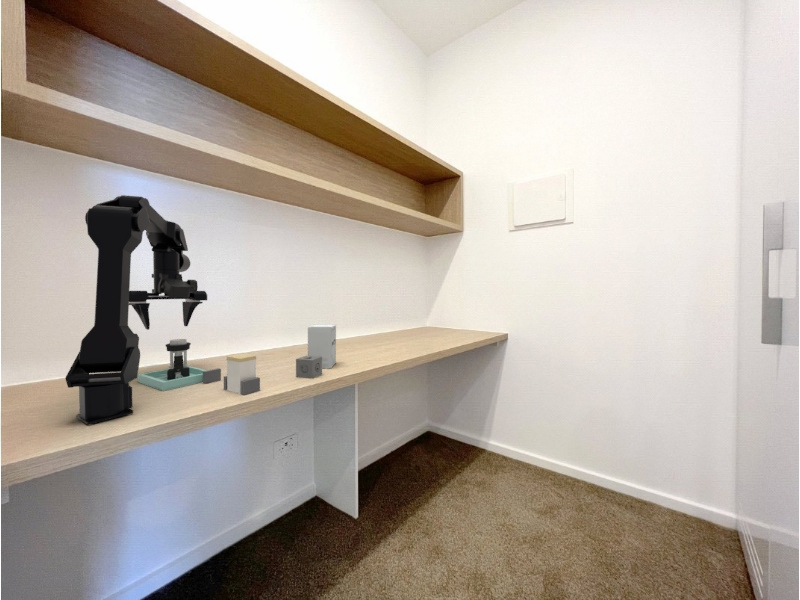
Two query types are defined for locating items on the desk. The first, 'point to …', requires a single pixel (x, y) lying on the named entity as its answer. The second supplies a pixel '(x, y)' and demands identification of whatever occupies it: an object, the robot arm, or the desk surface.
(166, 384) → the tray
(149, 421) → the desk surface
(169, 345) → the push button
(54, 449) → the desk surface
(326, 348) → the supplement box
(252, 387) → the set of grey blocks
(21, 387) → the desk surface
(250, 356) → the white lidded container
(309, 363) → the dark grey cube
